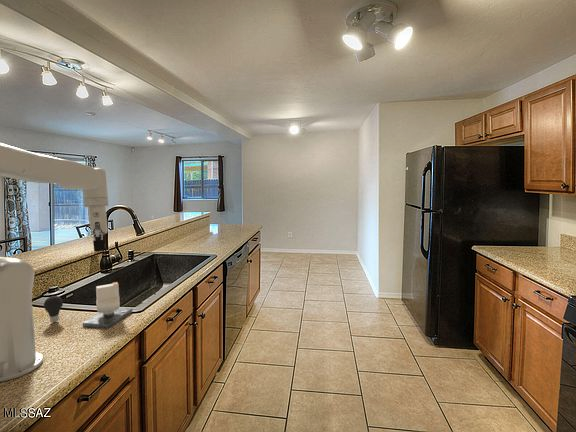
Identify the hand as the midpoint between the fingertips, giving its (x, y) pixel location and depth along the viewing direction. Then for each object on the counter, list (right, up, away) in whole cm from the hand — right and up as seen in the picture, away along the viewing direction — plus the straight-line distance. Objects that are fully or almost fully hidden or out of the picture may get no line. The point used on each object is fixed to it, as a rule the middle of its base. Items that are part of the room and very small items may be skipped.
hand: (100, 247), depth 112 cm
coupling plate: (+1, -28, +4) cm, 28 cm away
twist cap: (+1, -24, +4) cm, 24 cm away
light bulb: (-17, -28, +1) cm, 33 cm away
